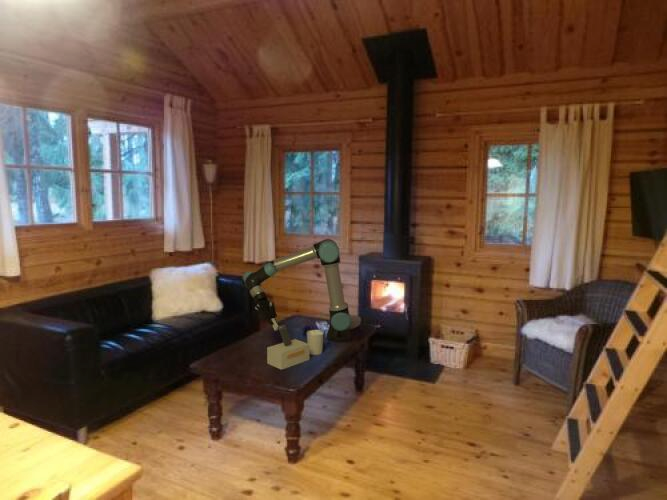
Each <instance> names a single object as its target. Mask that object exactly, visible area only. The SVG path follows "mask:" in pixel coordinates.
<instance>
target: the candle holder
mask: <svg viewBox="0 0 667 500" xmlns="http://www.w3.org/2000/svg"><path fill="white" fill-rule="evenodd" d="M306 341H307V342H306V343H307V344H309V355H312V356H318V355H321V354H322V353H323V347H324V346H323V345H324V331H323V330H320V329H311V330H307V331H306Z"/></svg>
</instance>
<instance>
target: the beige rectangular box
mask: <svg viewBox="0 0 667 500" xmlns="http://www.w3.org/2000/svg"><path fill="white" fill-rule="evenodd" d="M291 342H292V344H290V345H287V346H285V345H284V342H281V343H277V344H275V345H271V346H268V347H266V350H267V351H266V353H267V354H266V356H267V357H266V363H267V364H268V365H270V366H272V367H275V368H277V369H279V370H284V369H288V368H290V367H293V366H296V365H298V364H302V363H304V362H306V361H309V360H310V354H309V344H307V342H304V341H302V340H298V339H296V338H293V339H291Z"/></svg>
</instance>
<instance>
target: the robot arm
mask: <svg viewBox="0 0 667 500" xmlns="http://www.w3.org/2000/svg"><path fill="white" fill-rule="evenodd" d="M314 259H317V260H320V266H322V267H323V268H324V269H323V270H324V275H325V281H326V285H327V286H326V287H327V291H328V296H329V307H328V312H329V313H328V314H329V326H328V330H327V333H326V339H327V340H328V341H331V342H335V343H338V342H339V343H340V342H341V343H342V342H347V341H349V340H350V339H351V333H350V330H349V329H348V327H349V326H350V323H351V318H350V315H351V314H350V311H349V304H348V303H347V302H346V301H345V297H344V296H345V295H344V290H343V286H342V285H343V283H342V278H341V271H340V265H339V264H340V263H341V257H340V249H339V246H338V244H337V242H336V241H335V240H334V239H330V238H326V239H323V240H321V241H317V242H316V243H313V244H312V246H310V247H307V248H304V249H301V250H299V251H295V252H293V253H289V254H287V255H284V256H281V257H278V258H276V259H275V258H274V259H273V260H269V261H267V260H266V261H264V263H262V265H261V267H260V268H259V269H258V270H256V271H253V270H249V271H246V272H244V274H243V275H242V280H243V281H244V284H245V286H246V287H247V289H248V291H249V294H250V296H251V297H252V298H253V301H254V303H255V304H256V306H254V310H255V311H257V312H258V314H259V315H260V316H261V317H262V319H263V320H264V321H266V322H267V323H269V324H270V326H272V328H273V329H274V331H275V332H277V331H279V330H278V326H279V325H278V321H277V320H276V318H277V317H278V315H277V312H276V308H275V302H273V301H272V302H271V301H270V300H269V299H268V295H267V294H266V292H265V291H264V289H263V287H262V283H263V282H265V281H267V280H268V279H270V278H271V277H273V276H275V275H276V273H277V272H280V271H282V270H286V269H288V268H291V267H294V266H297V265H300V264H302V263H306V262H309V261H312V260H314Z"/></svg>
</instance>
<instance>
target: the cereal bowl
mask: <svg viewBox="0 0 667 500" xmlns="http://www.w3.org/2000/svg"><path fill="white" fill-rule="evenodd" d="M349 315H350V318H351V323H350V326H349V327H348V329H349V331H350V330H354V329H355V328H357V327H358V326H360V324H361V322H362V320H361V319H362V318H361V317H360V316H358V315H354V314H349Z"/></svg>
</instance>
